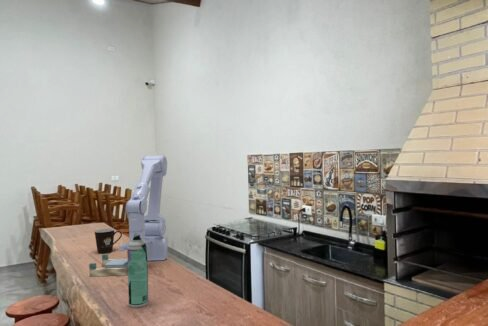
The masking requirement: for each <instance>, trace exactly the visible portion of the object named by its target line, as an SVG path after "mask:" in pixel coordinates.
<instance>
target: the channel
mask: <svg viewBox="0 0 488 326" xmlns="http://www.w3.org/2000/svg"><path fill="white" fill-rule="evenodd" d="M101 257H102V258H101V262H102V264H101V265H102V267H104V268H97V262H95V263H94V262H92V263H89V265H88V269H89V277H91V278H92V277H115V276H117V277H119V276H120V277H121V276H128V270H127V268H105V264H107V263H108V262H110V261H111V260H113V259H114V258H109V253H106V254H101Z"/></svg>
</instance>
